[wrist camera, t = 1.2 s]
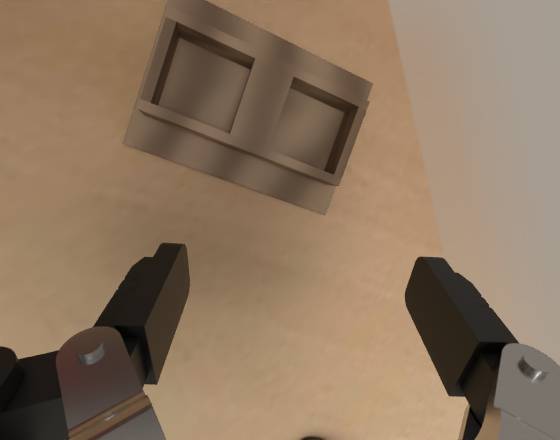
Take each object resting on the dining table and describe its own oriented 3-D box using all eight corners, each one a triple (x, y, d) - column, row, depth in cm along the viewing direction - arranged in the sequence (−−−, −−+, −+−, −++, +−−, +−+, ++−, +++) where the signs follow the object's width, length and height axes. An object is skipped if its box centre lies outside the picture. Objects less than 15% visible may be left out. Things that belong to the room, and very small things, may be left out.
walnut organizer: (125, 144, 29) (112, 140, 25) (174, -9, 28) (168, -39, 24) (321, 214, 34) (336, 219, 30) (368, 86, 33) (389, 74, 29)
